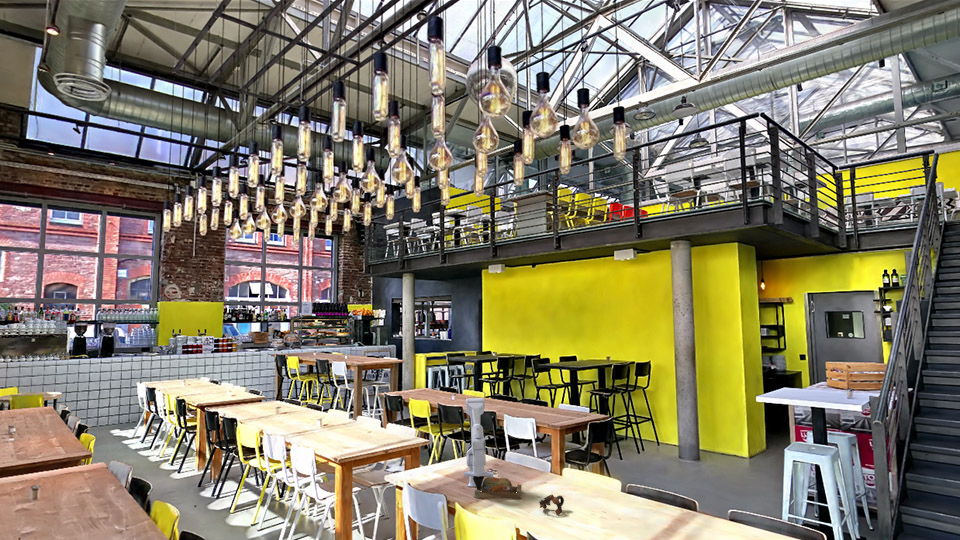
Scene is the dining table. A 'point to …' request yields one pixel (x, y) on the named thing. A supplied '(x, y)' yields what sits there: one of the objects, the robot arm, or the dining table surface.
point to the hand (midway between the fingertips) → (478, 492)
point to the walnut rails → (500, 493)
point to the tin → (497, 484)
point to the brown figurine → (554, 500)
